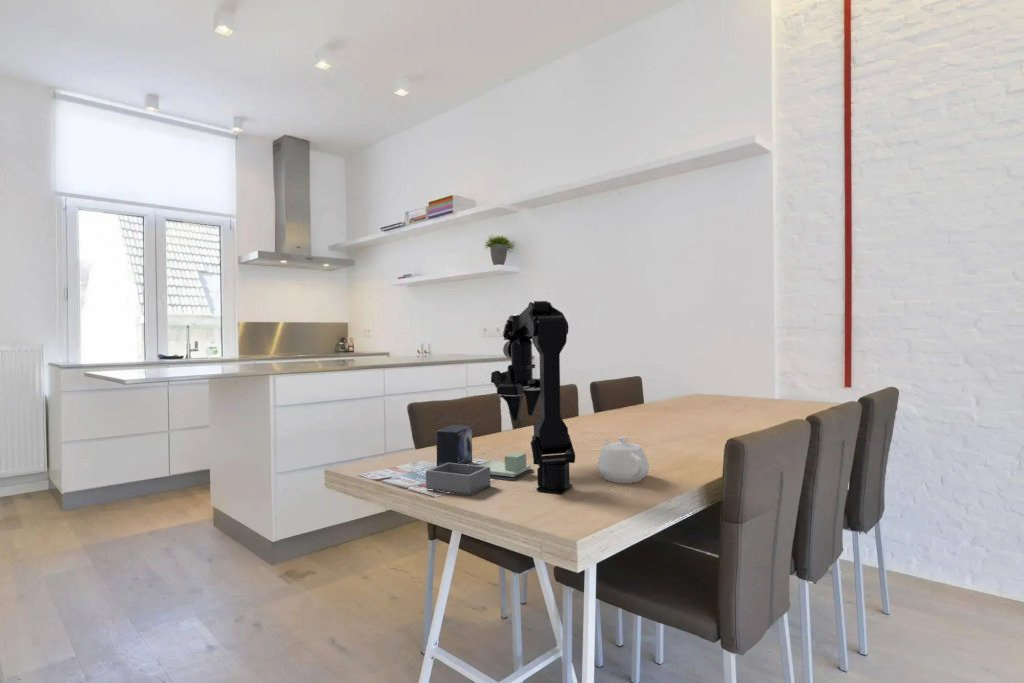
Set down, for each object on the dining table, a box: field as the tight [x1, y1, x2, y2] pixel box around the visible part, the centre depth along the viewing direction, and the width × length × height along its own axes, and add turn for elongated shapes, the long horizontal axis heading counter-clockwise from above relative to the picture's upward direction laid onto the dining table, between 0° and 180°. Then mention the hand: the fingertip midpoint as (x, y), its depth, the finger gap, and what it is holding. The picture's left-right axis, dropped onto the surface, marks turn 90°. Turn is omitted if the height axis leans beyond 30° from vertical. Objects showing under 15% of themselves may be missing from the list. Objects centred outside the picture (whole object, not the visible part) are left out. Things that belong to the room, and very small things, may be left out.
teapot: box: [596, 435, 650, 484], centre depth 139 cm, size 20×12×10 cm, turn 14°
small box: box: [436, 424, 473, 467], centre depth 155 cm, size 11×6×10 cm, turn 161°
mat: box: [490, 468, 534, 482], centre depth 147 cm, size 14×11×1 cm
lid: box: [476, 451, 532, 477], centre depth 146 cm, size 13×10×5 cm
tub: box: [425, 463, 491, 497], centre depth 133 cm, size 12×9×4 cm
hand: (523, 417), depth 156 cm, fingers open, 9 cm apart
